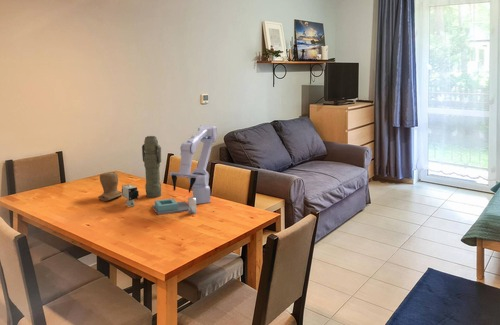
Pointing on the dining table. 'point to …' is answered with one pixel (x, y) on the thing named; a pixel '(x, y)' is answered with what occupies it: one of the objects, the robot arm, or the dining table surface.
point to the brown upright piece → (109, 186)
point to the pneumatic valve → (130, 194)
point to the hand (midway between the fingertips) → (181, 191)
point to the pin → (192, 205)
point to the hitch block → (169, 206)
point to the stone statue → (152, 166)
